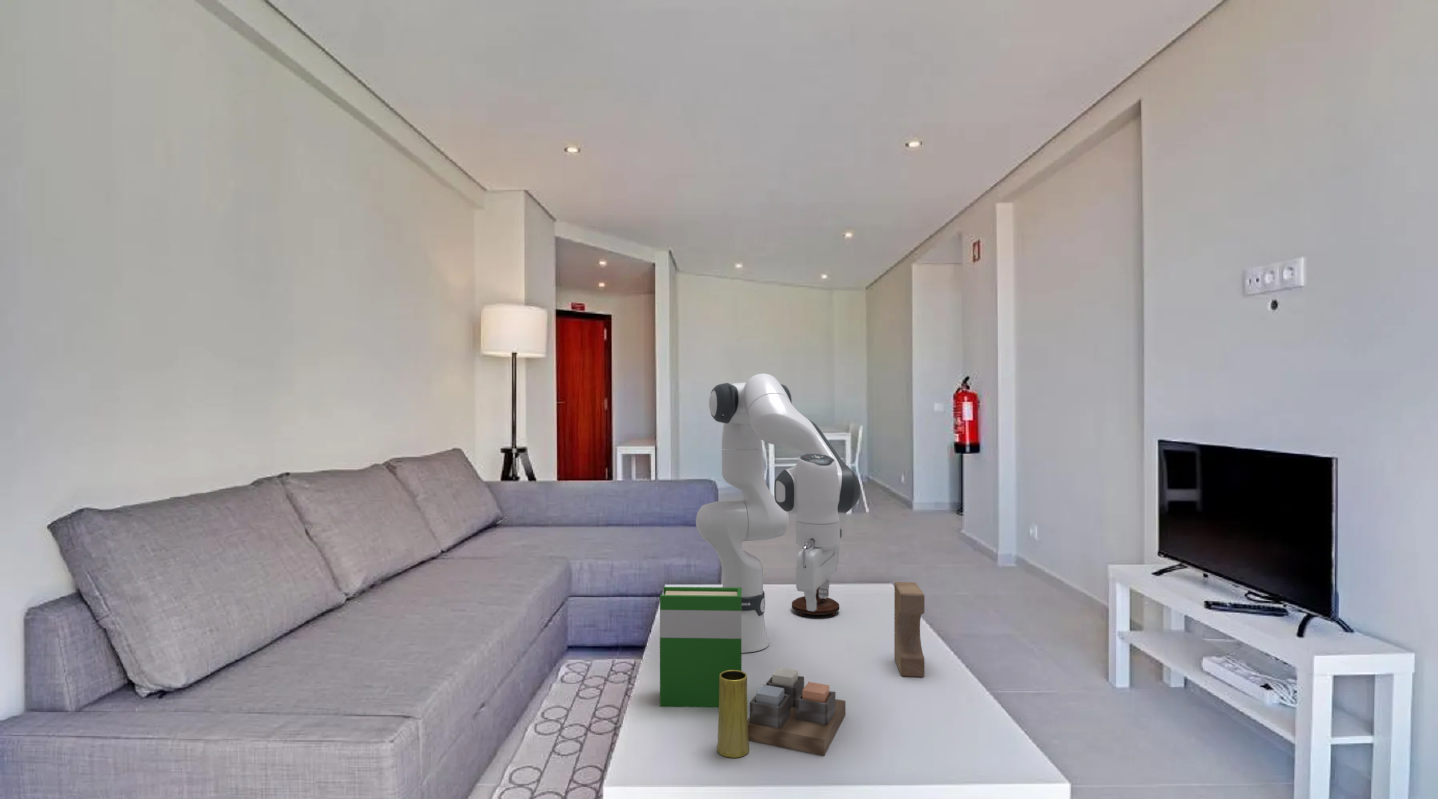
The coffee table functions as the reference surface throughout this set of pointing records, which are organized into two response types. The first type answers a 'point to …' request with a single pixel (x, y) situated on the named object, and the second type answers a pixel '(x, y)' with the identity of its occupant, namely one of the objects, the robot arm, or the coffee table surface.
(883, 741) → the coffee table surface
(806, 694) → the terracotta button
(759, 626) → the robot arm
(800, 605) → the brown figurine
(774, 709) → the block sorting tray
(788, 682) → the cream button
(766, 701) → the slate button
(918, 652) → the decorative block
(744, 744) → the vase
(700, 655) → the hardback book
